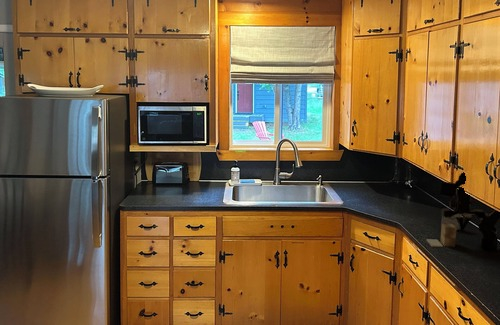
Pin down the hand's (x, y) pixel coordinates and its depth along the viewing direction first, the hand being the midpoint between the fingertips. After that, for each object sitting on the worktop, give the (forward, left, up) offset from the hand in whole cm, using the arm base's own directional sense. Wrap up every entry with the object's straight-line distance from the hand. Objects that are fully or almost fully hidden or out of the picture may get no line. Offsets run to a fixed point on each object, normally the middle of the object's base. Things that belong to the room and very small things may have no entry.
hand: (461, 231), depth 262 cm
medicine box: (-3, -27, -7) cm, 28 cm away
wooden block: (+6, 0, -7) cm, 9 cm away
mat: (+12, 0, -6) cm, 14 cm away
